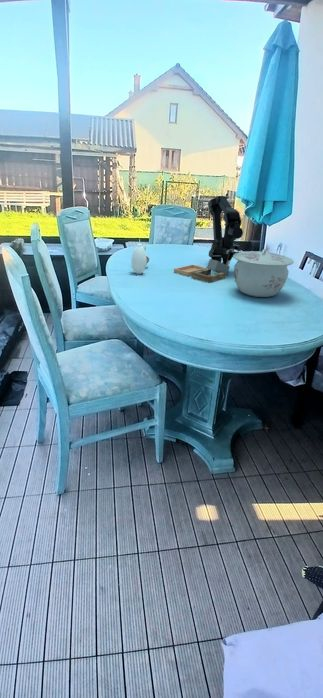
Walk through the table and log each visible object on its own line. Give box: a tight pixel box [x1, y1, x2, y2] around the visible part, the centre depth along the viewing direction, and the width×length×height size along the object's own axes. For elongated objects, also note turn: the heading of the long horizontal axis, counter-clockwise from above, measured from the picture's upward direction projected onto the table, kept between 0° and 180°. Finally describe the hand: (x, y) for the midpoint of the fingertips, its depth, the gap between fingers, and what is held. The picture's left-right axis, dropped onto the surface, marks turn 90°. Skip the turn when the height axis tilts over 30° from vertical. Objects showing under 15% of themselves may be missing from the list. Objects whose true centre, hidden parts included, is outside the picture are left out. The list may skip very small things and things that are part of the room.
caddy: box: [206, 258, 231, 276], centre depth 205 cm, size 12×6×8 cm, turn 135°
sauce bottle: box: [130, 238, 148, 275], centre depth 199 cm, size 8×8×18 cm
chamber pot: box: [232, 248, 295, 298], centre depth 177 cm, size 28×28×21 cm
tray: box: [173, 264, 208, 277], centre depth 211 cm, size 17×10×2 cm, turn 138°
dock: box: [190, 268, 227, 284], centre depth 201 cm, size 15×12×3 cm
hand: (225, 264), depth 210 cm, fingers closed on caddy, 2 cm apart
